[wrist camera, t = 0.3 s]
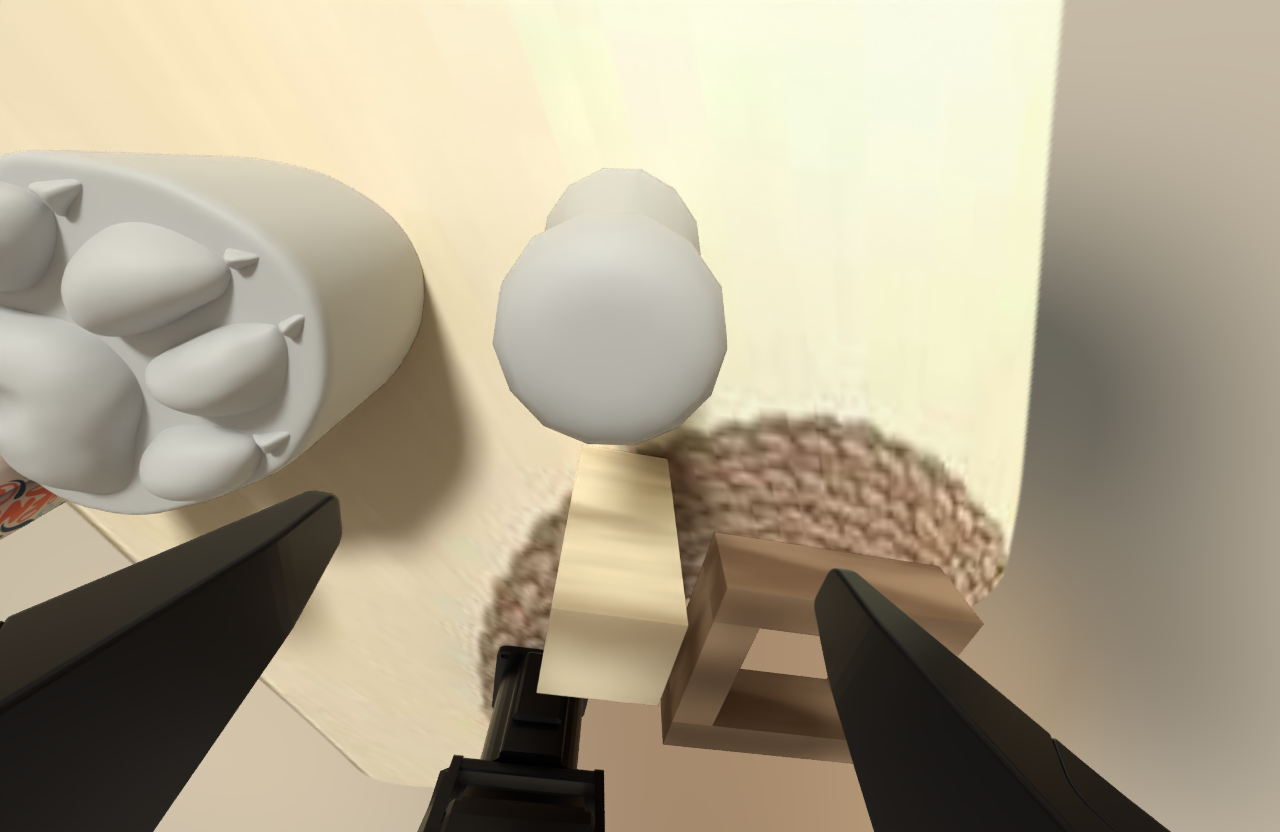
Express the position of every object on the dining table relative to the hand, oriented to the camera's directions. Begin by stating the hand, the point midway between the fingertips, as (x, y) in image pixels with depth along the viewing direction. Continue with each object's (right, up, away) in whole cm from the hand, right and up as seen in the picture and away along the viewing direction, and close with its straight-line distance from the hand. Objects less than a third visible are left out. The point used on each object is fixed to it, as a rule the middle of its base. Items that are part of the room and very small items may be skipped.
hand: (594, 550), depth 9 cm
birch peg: (0, -1, +16) cm, 16 cm away
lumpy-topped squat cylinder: (-15, +8, +12) cm, 20 cm away
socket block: (+11, -11, +22) cm, 27 cm away
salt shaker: (0, +10, +11) cm, 14 cm away
